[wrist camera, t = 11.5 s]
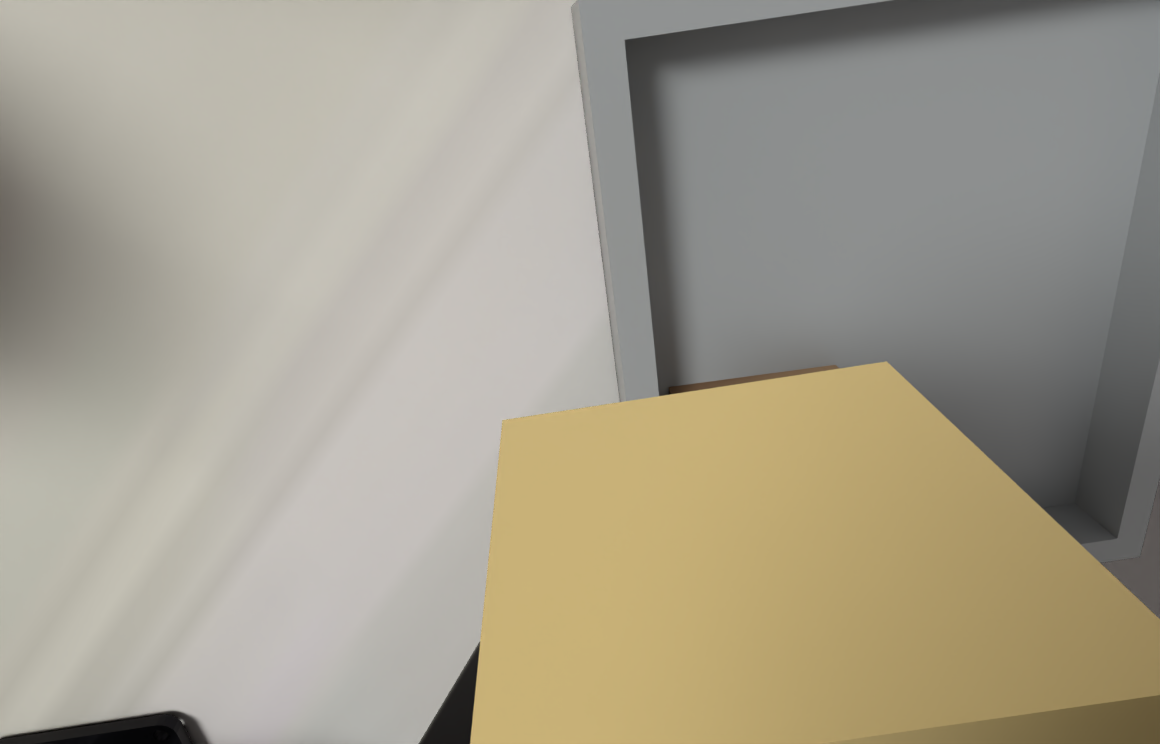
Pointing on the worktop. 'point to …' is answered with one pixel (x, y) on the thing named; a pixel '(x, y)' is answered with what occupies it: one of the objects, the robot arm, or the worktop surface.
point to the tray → (897, 216)
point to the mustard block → (793, 581)
